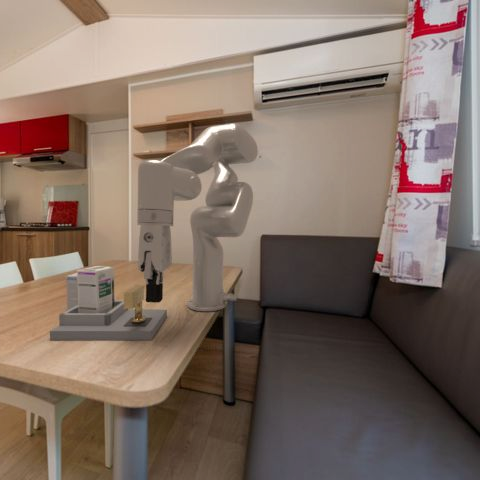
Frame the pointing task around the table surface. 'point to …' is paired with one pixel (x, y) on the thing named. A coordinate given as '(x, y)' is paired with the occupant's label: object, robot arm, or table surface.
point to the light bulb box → (72, 291)
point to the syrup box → (95, 289)
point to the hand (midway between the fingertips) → (154, 301)
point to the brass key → (135, 302)
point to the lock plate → (107, 324)
